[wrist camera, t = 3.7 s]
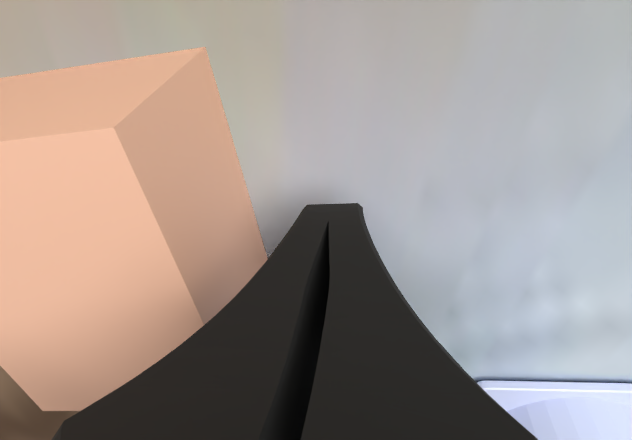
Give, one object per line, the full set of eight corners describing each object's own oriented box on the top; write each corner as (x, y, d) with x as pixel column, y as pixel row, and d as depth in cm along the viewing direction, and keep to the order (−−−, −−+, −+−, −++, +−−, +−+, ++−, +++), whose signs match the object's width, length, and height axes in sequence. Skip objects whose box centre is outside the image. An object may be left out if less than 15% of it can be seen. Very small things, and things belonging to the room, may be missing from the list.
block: (274, 278, 15) (243, 410, 11) (121, 286, 16) (42, 411, 12) (207, 45, 11) (113, 127, 7) (0, 76, 12) (-188, 164, 8)
